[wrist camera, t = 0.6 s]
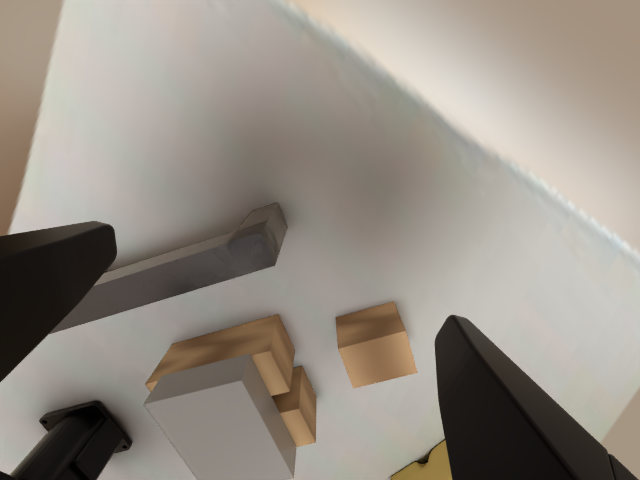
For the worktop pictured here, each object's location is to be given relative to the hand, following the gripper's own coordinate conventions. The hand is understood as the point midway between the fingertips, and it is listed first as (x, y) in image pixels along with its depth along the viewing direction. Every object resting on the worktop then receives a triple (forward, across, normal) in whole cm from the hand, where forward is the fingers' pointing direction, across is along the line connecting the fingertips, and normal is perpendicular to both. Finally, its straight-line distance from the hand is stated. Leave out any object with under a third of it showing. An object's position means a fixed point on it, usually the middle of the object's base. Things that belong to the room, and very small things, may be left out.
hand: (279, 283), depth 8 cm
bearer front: (+12, +4, +18) cm, 22 cm away
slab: (+7, +2, +19) cm, 21 cm away
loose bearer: (+13, -7, +13) cm, 20 cm away
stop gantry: (+12, +10, +9) cm, 18 cm away
